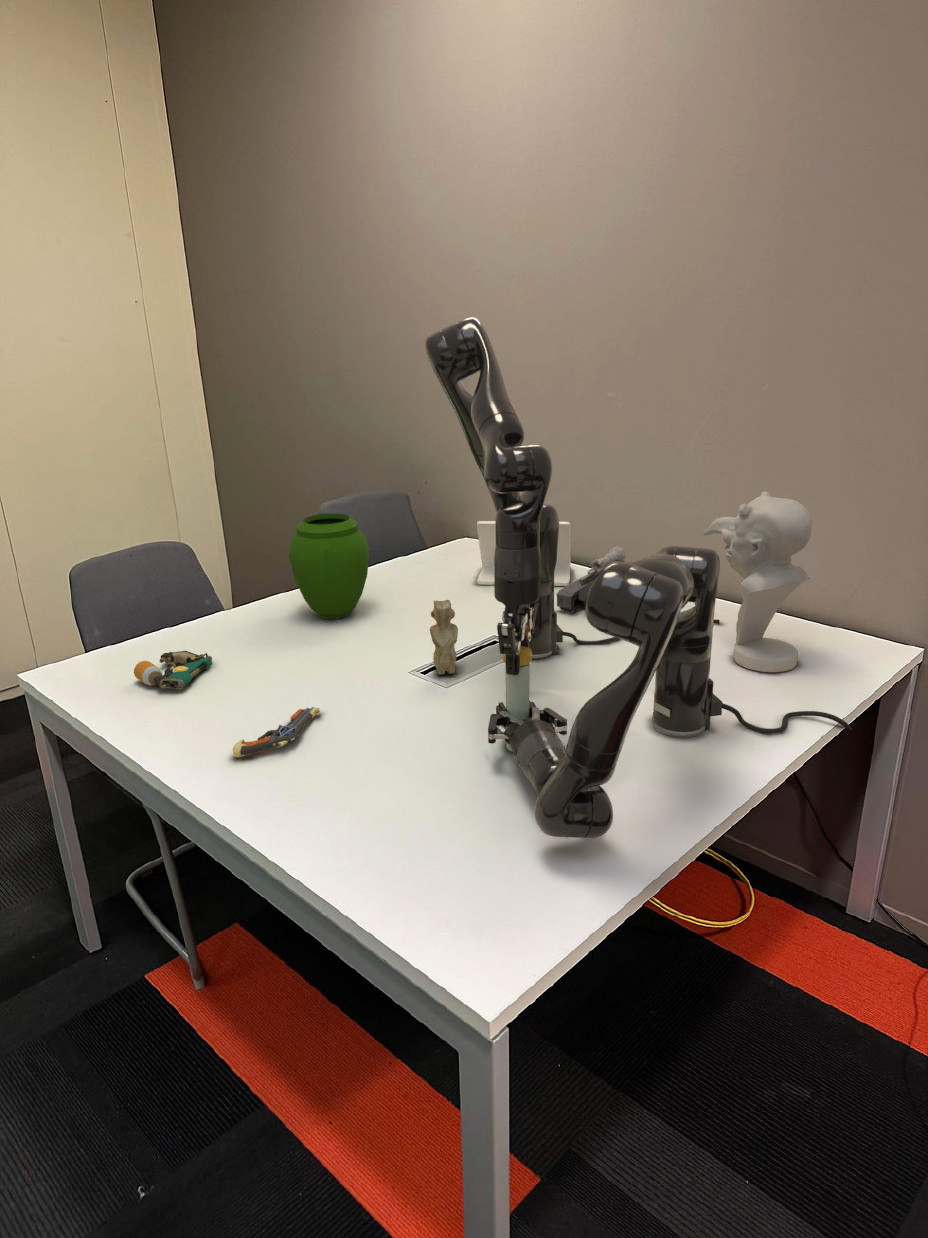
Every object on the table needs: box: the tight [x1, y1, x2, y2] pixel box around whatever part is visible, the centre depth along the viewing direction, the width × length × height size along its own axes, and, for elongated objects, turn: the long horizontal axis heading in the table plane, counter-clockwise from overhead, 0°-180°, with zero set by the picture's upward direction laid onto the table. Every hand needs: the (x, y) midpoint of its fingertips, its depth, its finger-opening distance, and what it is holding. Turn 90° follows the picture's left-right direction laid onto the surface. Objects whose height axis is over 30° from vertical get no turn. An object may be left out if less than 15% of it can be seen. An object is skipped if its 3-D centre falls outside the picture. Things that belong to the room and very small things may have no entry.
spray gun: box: [133, 650, 213, 690], centre depth 180 cm, size 4×17×15 cm
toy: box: [556, 546, 627, 613], centre depth 212 cm, size 25×20×15 cm
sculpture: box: [429, 599, 459, 675], centre depth 177 cm, size 6×7×15 cm
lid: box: [502, 645, 533, 666], centre depth 142 cm, size 5×5×2 cm
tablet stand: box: [476, 520, 572, 587], centre depth 236 cm, size 18×25×17 cm
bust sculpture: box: [702, 491, 813, 673], centre depth 177 cm, size 16×24×35 cm, turn 28°
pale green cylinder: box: [504, 662, 531, 753], centre depth 145 cm, size 4×4×18 cm
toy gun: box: [232, 706, 321, 758], centre depth 154 cm, size 3×19×10 cm
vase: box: [288, 512, 370, 620], centre depth 209 cm, size 20×20×24 cm
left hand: (517, 667), depth 143 cm, fingers closed on lid, 4 cm apart
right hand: (513, 705), depth 149 cm, fingers closed on pale green cylinder, 4 cm apart
